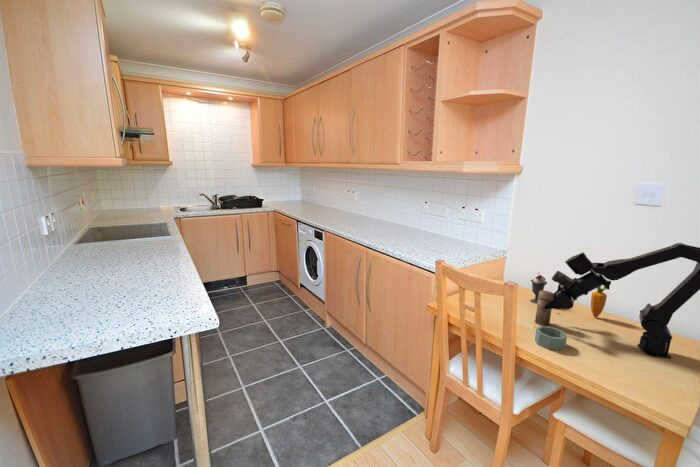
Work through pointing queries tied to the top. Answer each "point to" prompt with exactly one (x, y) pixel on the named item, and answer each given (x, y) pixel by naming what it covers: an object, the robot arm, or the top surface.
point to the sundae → (537, 287)
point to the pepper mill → (541, 312)
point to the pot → (550, 338)
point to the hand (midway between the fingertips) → (546, 304)
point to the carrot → (598, 301)
